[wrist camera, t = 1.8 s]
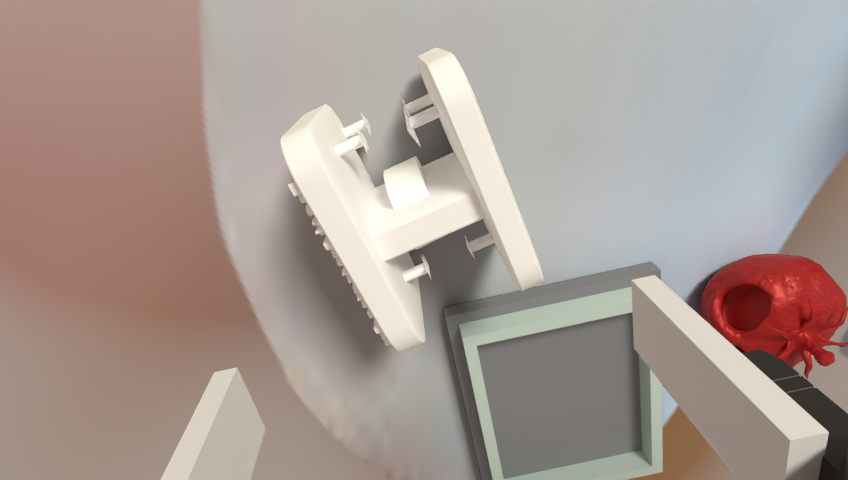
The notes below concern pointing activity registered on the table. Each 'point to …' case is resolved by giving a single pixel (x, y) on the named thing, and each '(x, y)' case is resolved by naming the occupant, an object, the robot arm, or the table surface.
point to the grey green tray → (559, 381)
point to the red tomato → (776, 307)
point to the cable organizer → (407, 199)
